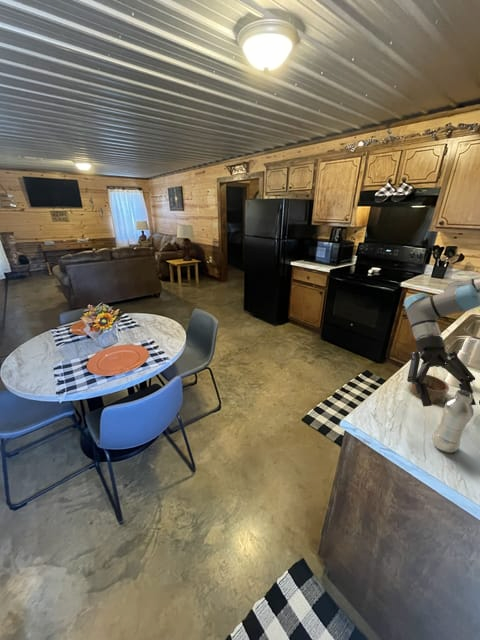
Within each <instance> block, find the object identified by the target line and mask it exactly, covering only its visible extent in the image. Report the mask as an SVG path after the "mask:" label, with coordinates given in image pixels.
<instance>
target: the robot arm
mask: <svg viewBox="0 0 480 640" xmlns="http://www.w3.org/2000/svg"><path fill="white" fill-rule="evenodd" d="M403 303H404V308H405V313H406V315H407V318H408V322H409V326H410V329H411V333H412V336H413V339H414V341H415V346H416V350H417V351H415V352H412V353H410V355H409V356H410V364H409V368H408V369H409V370H408V374H407V378H406V380H407V382H408V383H411V382H412V384H413V385H415V386H416V390H417V393H418V395H420V397H421V399H420V400H421V404H422V407H432V406H433V405H432V404H433V403H431V400H430V397H429V393H428V390H427V388H428V387H426V383H422V382H423V380H424V378H425V376H426V375H428V372H429V370H430V368H433V367H434V368H435V367H436V368H442V369H444V370H445V371H446V372H447V373H448V374H449V373H450V374H451V375H453V376H454V377H455V378H456V379H457V380H458V381H460V382H461V383H462V384H459V386H460V387H459V390H464V391H467V392H469V393H471V394H472V395H473V394H474V390H473V387H472V385H471V383H473V382H474V381H475V380H476V377H475V376H474V374H473V373H472V372H471V371H470V370H469V368H468V367H467V368H466V366H465V365H464V364H463V363H462V362H461V360H460V359H459V358H458V356H457V355H458V353H457V352H456V351H451V352H447V351H446V350H445V349H446V344H445V341H444V338H443V337H442V332H441V330H440V326H439V323H438V321H437V319H441V318H444V317H447V316H451V315H455V314H459V313H463V312H468V311H471V310H473V309H476V308H479V307H480V276H477V277H474V278H469V279H465V280H455V281H452V282H450V283H449V284H447V285H446V286H445V288H444V291H443V292H441V293H438V294H435V295H432V296H429V294H427V293H424V292H419V293H413V294H410V295H409V296H407V297H405V299H404V301H403ZM421 361H422V362H421ZM420 362H421V363H420ZM419 367H420V368H419ZM474 397H475V396H473V399H472V403H470V404H471V406H477V404H476V400H475V398H474Z"/></svg>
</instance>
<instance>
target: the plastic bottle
mask: <svg viewBox="0 0 480 640" xmlns="http://www.w3.org/2000/svg"><path fill="white" fill-rule="evenodd" d="M473 397H474V395H473V393H472V394H471V393H469V392H467V391H464V390H461V389H457V390H456V392H455V394H454V397H453V398H450V399H449V400H447V401H446V402H445V404H444V407H443V413H442V416H441V420H440V423H439V424H438V426H437V428H436V430H434V431H433V434H432V437H431V441H432V444H433V445H434V447H435V448H437V449H438V450H440V451H441V452H444V453H448V454H449V453H450V454H451V453H455V452H457V450H458V449H459V448H460V445H461V438H462V435H463V432H464V430H465V428H466V426H467V425H468V423H469V422H470V421H471V419H472V418H473V417H474V414H475V413H474V412H475V411H474V410H475V409H474V408H473V405H471V404H470V403H472V399H473Z"/></svg>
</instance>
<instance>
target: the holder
mask: <svg viewBox="0 0 480 640" xmlns="http://www.w3.org/2000/svg"><path fill="white" fill-rule="evenodd" d="M422 383H426V387H427V390H428V393H429V397H430V400H431V404H442V403H444V402H445V400H446V398H447V395H448V392H449V390H450V386H449V384H448V383H446V382H445V380H442V379H440V378H438V377H436V376H434V375H430V374H426V376H425V378H424V380H423V382H422ZM409 392H410V393H411V394H412V395H413V396H415V397H416V398H417V399H420V400H421V397H420V395H418V393H417V390H416V386H415V385H413V384H412V382H410V385H409Z"/></svg>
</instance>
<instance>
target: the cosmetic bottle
mask: <svg viewBox="0 0 480 640" xmlns="http://www.w3.org/2000/svg"><path fill="white" fill-rule="evenodd" d="M474 343H475V338H473V337H468V336H467V337H466V339H465V340H464V342H463V344H462V347H461V349H460V350H459V351H458V353H457V356H458V358H459V359H460V360H461V362H462V363H463V364H464V365H465V366H466V368H467V369H468V366H469V361H470V358H471V355H472V353H471V351H472V349H473V346H474V345H475V344H474ZM444 382H445V383H446V384H447V385H450V386H452V387H456V388H460V386H459V384H462V383H461V382H460V381H458V380H457V379H456V378H455V377H454V376H453V375H451V374H450V373H449V372H448V375H447V376H446V378H445V379H444Z"/></svg>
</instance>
